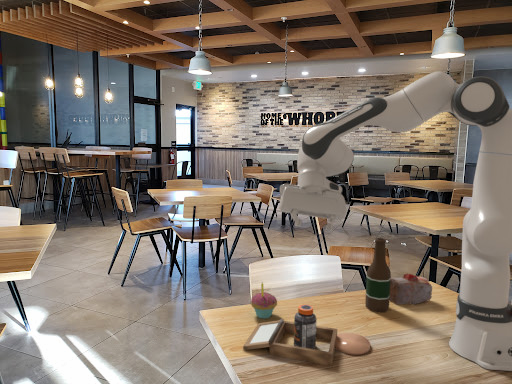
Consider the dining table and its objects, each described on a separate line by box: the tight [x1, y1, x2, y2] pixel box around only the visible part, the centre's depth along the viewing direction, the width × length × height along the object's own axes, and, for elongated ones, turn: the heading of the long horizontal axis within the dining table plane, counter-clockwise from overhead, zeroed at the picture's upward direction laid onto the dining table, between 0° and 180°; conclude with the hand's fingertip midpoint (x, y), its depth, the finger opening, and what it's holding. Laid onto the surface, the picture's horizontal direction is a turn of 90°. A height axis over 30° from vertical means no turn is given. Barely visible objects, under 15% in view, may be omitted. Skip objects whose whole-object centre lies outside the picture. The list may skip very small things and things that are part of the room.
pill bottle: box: [293, 304, 317, 350], centre depth 102 cm, size 6×6×11 cm
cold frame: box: [268, 318, 338, 367], centre depth 103 cm, size 16×14×4 cm
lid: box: [242, 319, 280, 351], centre depth 106 cm, size 7×14×3 cm, turn 163°
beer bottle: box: [364, 237, 392, 313], centre depth 127 cm, size 8×8×24 cm
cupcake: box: [250, 282, 278, 319], centre depth 121 cm, size 9×8×12 cm
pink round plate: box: [335, 332, 371, 356], centre depth 104 cm, size 10×10×1 cm
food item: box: [389, 273, 433, 305], centre depth 135 cm, size 14×8×10 cm, turn 104°
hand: (313, 228), depth 110 cm, fingers open, 8 cm apart
